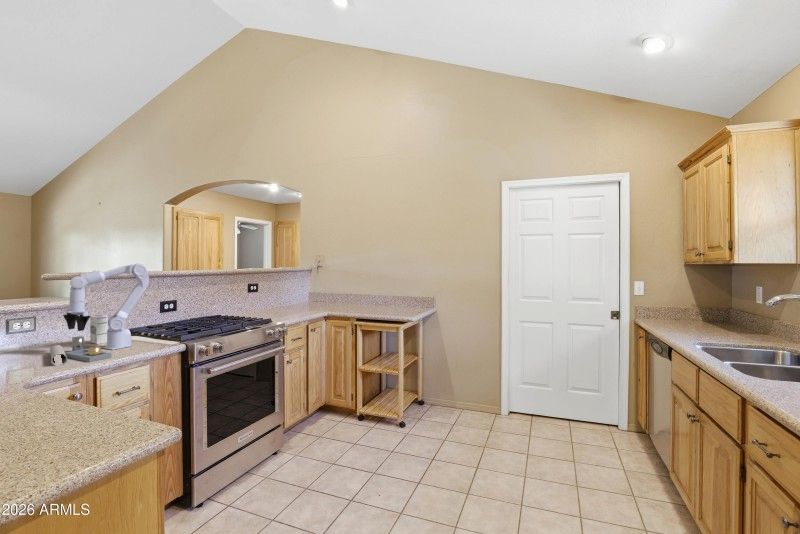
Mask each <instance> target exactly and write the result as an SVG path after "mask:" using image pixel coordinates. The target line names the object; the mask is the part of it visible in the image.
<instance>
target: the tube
mask: <svg viewBox="0 0 800 534" xmlns="http://www.w3.org/2000/svg"><path fill="white" fill-rule="evenodd" d="M49 353H50V354H49V355H50V358H51V364H52V365H53V366H55V361H54V357H55V356H56V355H61V358H62V363H63V364H64V365H65V364H67V362H68V358H67V356H66V354H65V353H66V351H65V349H64V347H63V346H62V345H60V344H57V345H53V346H52V347H50V348H49Z"/></svg>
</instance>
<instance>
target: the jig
mask: <svg viewBox="0 0 800 534" xmlns="http://www.w3.org/2000/svg"><path fill="white" fill-rule="evenodd" d="M65 354H66V356H67V357H69V358H68V359H71V358H73V359H72V360H76V359H77V361H81V360H82V362H87V363H93V362H97V361H102V360H106V358H107V359H111V357H112V355H113V354H112V352H107V351H102V350H101V355H96V356H88V348H84V349H82V350H76V351H72V350H71V351H65Z"/></svg>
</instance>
